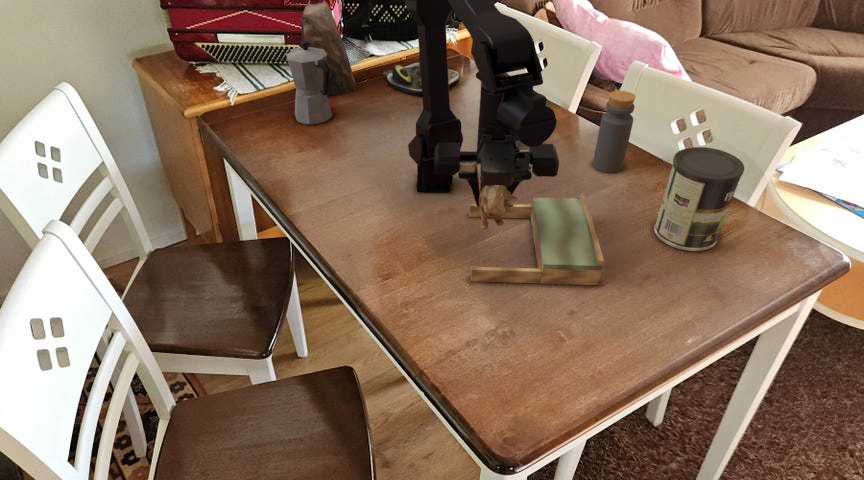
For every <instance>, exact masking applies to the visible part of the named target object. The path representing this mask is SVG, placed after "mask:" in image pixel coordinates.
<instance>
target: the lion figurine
mask: <svg viewBox="0 0 864 480" xmlns="http://www.w3.org/2000/svg"><path fill="white" fill-rule="evenodd" d="M480 177H481V174H480V175H479V177H478V179H479V191H480V197H479V206H477V204H476V203H475V204H476V207H478V208H479V207H480V214H481V217H480V219H481V223H480V226H479V227H480V229H482V230H488V228H489V221H488V218H494V222H495V224H496V225H497V226H498V227H500V226H503V225H505V221H504V220H503V219H502V218H501V214H502V213H504V212H505V210H506V207H509V208H512V207H513V205H514V204H516V202H517V201H518V200H519V199H518V197H517V196H515V195H514V194H511V193H510V191H508V190H507V189H506V186H503V185H491V186H485V185H483V184H482V183H481V181H480ZM487 215H488V216H489V217H487ZM492 216H493V217H492Z"/></svg>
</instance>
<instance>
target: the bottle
mask: <svg viewBox="0 0 864 480" xmlns="http://www.w3.org/2000/svg"><path fill="white" fill-rule="evenodd" d="M635 100H636V95H635V94H634V93H632V92H630V91H626V90H614V91H610V93H609V95H608V101H607V102H606V103H605V110H606V112H604V113H602V115H601V119H600V123H599V128H598V134H597V138H596V143H595V149H594V153H593V154H594V155H593V159H592V166H593V167H594V169H596V170H597V171H599V172H603V173H608V174H610V173H618V172H620V171H621V170H622V169H623V166H624V163H625V158H626V154H627V150H628V145H629V142H630V137H631V133H632V128H633V124H634V117H633V115H631V114H632V113H634V111H635V104H634V102H635Z"/></svg>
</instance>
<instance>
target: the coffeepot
mask: <svg viewBox="0 0 864 480" xmlns="http://www.w3.org/2000/svg"><path fill="white" fill-rule="evenodd" d="M300 43H301V46H302V47H293V48H292V49H291V48H290V49H289V52H288V53H286V54H285V56H286V60H287V63H288V66H289V70H290V74H291V78H292V80H293V84H294V86H295V96H294V97H295V99H294V117H295V119H296V122H298V123H300V124H302V125H309V126H310V125H320V124H323V123H326V122H327V121H329V120H330V119H331V118H332V117H333V112H332V109H331V104H330V101H329V96H327V93H328V86H329V76H330V69H329V66H328V64H327V62H326V60H327V54H326V52H325V51H324V49H319V48H313V47H308V41H303V40H302V41H301V42H300Z"/></svg>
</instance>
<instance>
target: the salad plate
mask: <svg viewBox="0 0 864 480" xmlns="http://www.w3.org/2000/svg"><path fill="white" fill-rule="evenodd" d="M382 75H384V76H386V81H387V82H388V84H389V85H390V86H391V88H393V89H394V90H397V91H399V92H401V93H404V94H407V95H411V96H417V97H422V83H421V69H420V62H413V63H411V64H409V65H408V64H407V66H402V65H400V64H395V65H394V66H393V68H392V69H391V70H385V71H384V72H383V73H382ZM459 78H460V74H459V72H458V71H456V70H453V69H449V68H448V80H449V87H450V86H451V85H452V84H454V83H455V82H456V81H458V80H459Z"/></svg>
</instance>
